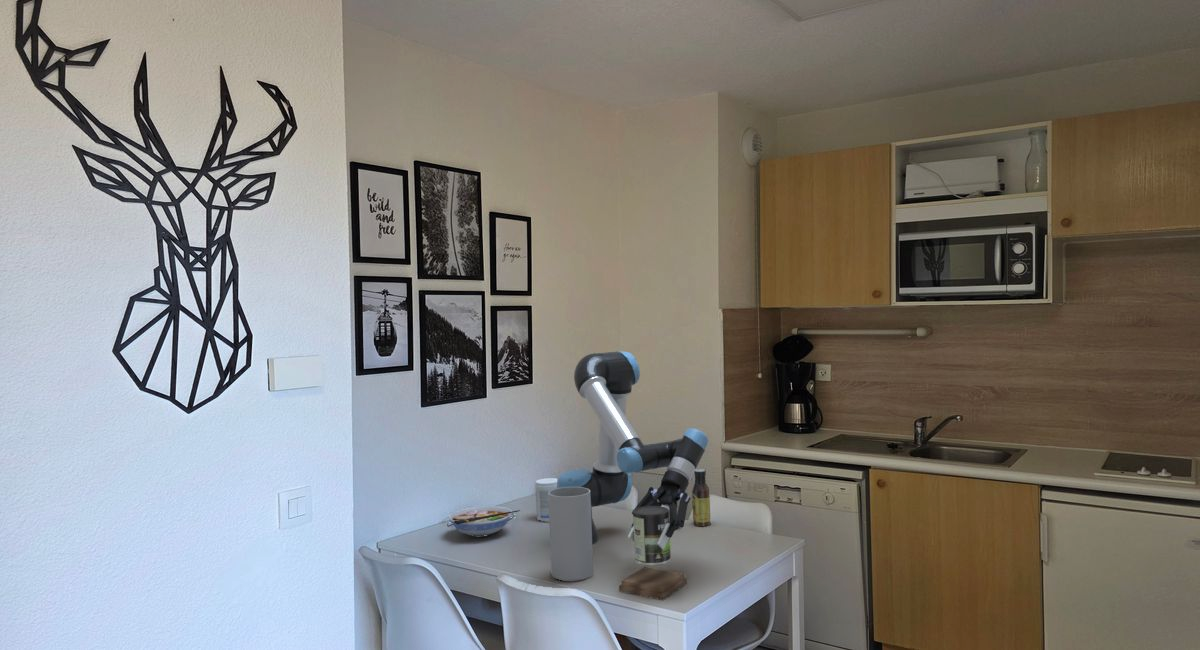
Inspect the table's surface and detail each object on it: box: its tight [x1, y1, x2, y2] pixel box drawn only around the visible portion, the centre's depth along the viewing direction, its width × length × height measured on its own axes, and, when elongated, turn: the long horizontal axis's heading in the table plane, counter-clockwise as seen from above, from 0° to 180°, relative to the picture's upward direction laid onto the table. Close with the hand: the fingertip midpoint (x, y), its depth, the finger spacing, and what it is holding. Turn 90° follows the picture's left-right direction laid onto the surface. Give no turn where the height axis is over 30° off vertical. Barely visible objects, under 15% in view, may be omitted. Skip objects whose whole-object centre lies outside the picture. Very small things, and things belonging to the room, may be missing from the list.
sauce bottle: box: [691, 468, 711, 527], centre depth 282 cm, size 6×6×20 cm
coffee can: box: [631, 506, 672, 567], centre depth 221 cm, size 10×10×14 cm
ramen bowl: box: [448, 505, 521, 537], centre depth 281 cm, size 25×23×8 cm
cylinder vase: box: [548, 487, 594, 582], centre depth 234 cm, size 12×12×25 cm
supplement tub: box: [534, 477, 558, 522], centre depth 298 cm, size 10×10×15 cm
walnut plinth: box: [618, 566, 688, 601], centre depth 221 cm, size 14×14×3 cm
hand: (645, 543), depth 219 cm, fingers closed on coffee can, 10 cm apart
